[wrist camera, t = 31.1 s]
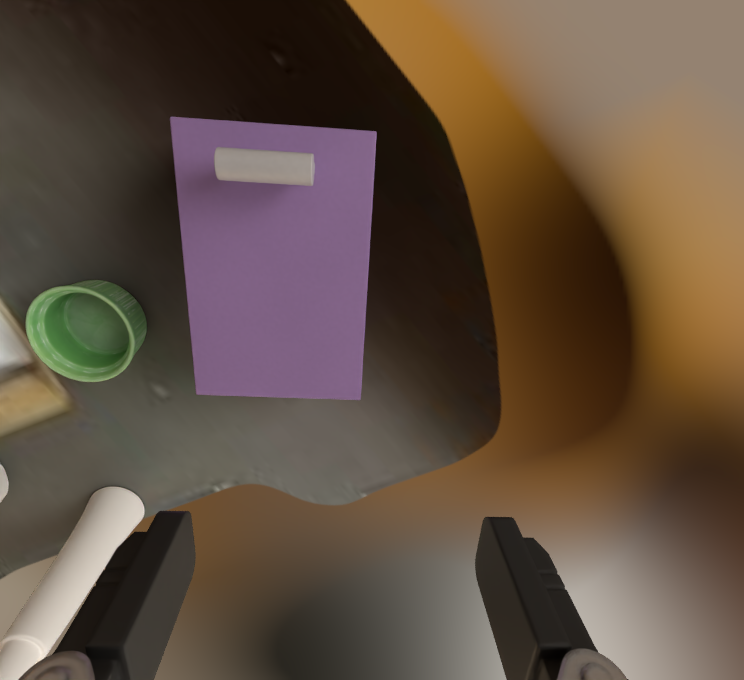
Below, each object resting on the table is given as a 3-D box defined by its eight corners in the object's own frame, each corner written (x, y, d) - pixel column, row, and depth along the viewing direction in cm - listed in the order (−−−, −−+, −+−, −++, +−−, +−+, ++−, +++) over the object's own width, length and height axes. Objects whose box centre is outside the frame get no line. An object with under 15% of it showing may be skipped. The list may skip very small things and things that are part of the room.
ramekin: (114, 378, 45) (91, 400, 41) (35, 315, 42) (2, 332, 38) (173, 323, 43) (155, 340, 39) (95, 253, 40) (66, 264, 36)
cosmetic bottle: (99, 477, 50) (-74, 700, 29) (152, 498, 51) (22, 724, 31) (82, 515, 51) (-92, 749, 31) (134, 533, 53) (0, 769, 32)
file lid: (173, 117, 29) (138, 109, 24) (376, 132, 30) (381, 126, 25) (199, 390, 36) (175, 425, 31) (360, 395, 37) (361, 430, 32)
